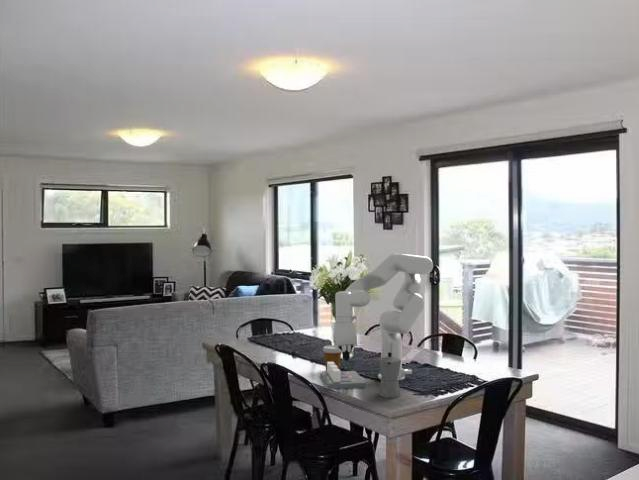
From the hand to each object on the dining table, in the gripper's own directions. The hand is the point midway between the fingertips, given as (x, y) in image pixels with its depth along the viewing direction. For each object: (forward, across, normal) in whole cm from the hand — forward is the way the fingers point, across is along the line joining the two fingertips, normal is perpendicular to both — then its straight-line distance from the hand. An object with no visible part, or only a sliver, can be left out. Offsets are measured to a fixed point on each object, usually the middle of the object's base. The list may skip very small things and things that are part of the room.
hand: (346, 360), depth 271 cm
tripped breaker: (+9, +5, +1) cm, 10 cm away
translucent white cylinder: (+14, -36, -38) cm, 54 cm away
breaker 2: (+9, +5, -6) cm, 12 cm away
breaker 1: (+9, +5, -13) cm, 17 cm away
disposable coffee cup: (+12, +2, -26) cm, 29 cm away
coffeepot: (+12, -15, +17) cm, 25 cm away
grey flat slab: (+12, +1, -6) cm, 13 cm away
